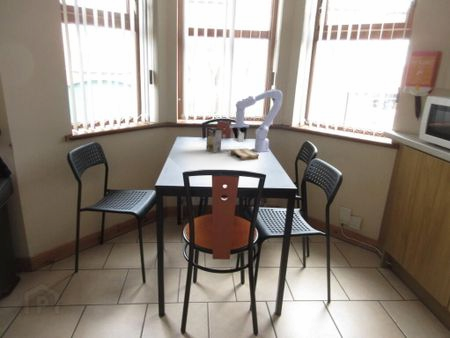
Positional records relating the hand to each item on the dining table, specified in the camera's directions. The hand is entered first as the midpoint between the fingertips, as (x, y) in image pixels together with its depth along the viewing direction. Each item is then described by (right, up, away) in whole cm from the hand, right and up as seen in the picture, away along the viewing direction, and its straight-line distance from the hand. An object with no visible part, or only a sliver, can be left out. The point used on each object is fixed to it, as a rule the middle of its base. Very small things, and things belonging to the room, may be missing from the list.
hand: (238, 138), depth 219 cm
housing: (0, -2, +1) cm, 2 cm away
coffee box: (-18, -10, -3) cm, 20 cm away
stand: (+3, -13, -11) cm, 18 cm away
